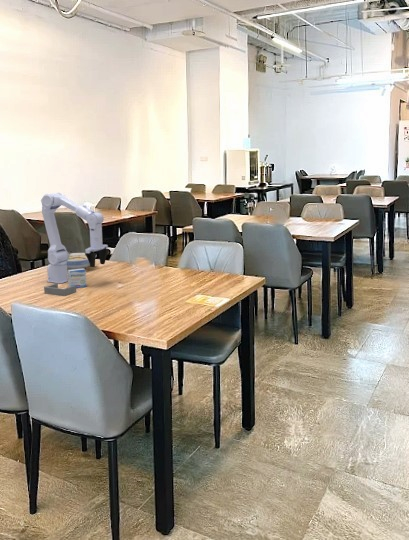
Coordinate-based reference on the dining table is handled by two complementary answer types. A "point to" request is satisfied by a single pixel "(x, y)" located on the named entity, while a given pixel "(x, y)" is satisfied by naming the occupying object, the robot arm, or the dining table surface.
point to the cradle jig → (59, 290)
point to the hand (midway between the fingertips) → (97, 265)
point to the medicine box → (77, 277)
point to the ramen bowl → (77, 261)
